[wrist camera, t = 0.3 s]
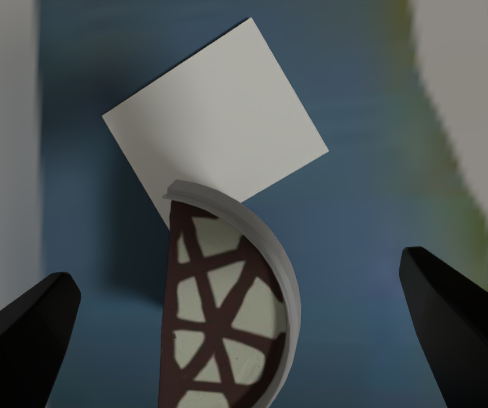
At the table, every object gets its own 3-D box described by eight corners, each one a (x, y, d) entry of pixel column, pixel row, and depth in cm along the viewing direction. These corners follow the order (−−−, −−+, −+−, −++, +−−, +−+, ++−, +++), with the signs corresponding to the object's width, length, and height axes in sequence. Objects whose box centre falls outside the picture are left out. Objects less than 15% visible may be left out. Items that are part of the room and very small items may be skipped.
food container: (277, 353, 24) (289, 487, 14) (191, 344, 24) (145, 469, 15) (296, 181, 23) (325, 198, 13) (205, 172, 23) (162, 182, 13)
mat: (328, 151, 23) (328, 151, 22) (177, 239, 24) (175, 241, 24) (251, 20, 22) (251, 17, 22) (104, 117, 24) (101, 116, 23)
